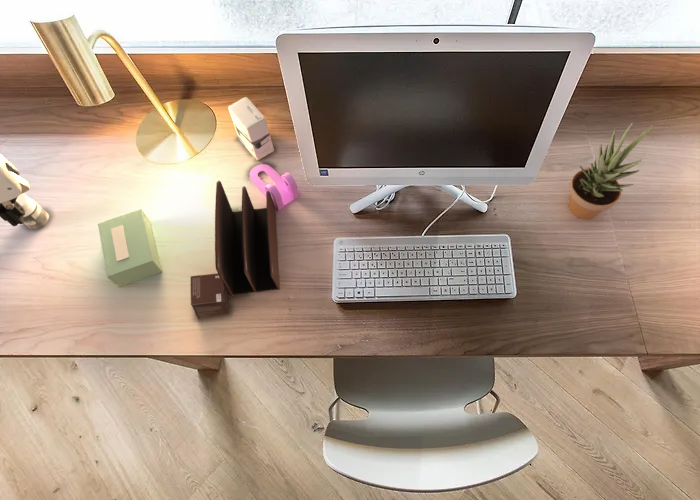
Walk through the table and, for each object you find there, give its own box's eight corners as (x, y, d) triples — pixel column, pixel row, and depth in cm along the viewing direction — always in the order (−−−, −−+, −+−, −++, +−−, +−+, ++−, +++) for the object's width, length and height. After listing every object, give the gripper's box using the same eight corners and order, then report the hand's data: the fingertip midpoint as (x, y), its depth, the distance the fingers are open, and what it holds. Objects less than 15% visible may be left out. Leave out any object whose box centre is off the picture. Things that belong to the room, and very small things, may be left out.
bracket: (299, 198, 108) (295, 179, 102) (279, 213, 107) (274, 194, 101) (265, 164, 113) (259, 143, 107) (245, 177, 112) (238, 157, 106)
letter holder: (231, 298, 98) (210, 266, 85) (231, 214, 107) (212, 175, 95) (281, 292, 98) (268, 259, 86) (276, 209, 107) (264, 169, 95)
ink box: (239, 142, 117) (226, 105, 107) (256, 131, 118) (245, 94, 108) (258, 164, 114) (246, 128, 103) (276, 153, 115) (266, 117, 104)
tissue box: (106, 276, 94) (152, 260, 96) (97, 223, 100) (140, 208, 101) (120, 289, 100) (164, 273, 101) (111, 238, 106) (152, 224, 107)
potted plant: (602, 189, 106) (661, 106, 85) (609, 227, 102) (673, 149, 80) (555, 187, 107) (601, 103, 85) (559, 224, 103) (609, 146, 81)
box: (197, 291, 98) (190, 275, 92) (228, 288, 99) (223, 271, 92) (197, 320, 95) (190, 305, 89) (229, 316, 96) (224, 301, 90)
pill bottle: (25, 229, 108) (0, 208, 100) (36, 211, 110) (12, 189, 102) (44, 233, 107) (20, 212, 100) (55, 215, 109) (32, 193, 102)
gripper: (-127, 182, 63) (-28, 251, 79) (-5, 148, 66) (66, 221, 82) (-123, 141, 67) (-29, 215, 83) (-7, 110, 69) (62, 187, 85)
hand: (18, 218), depth 82 cm, fingers closed
